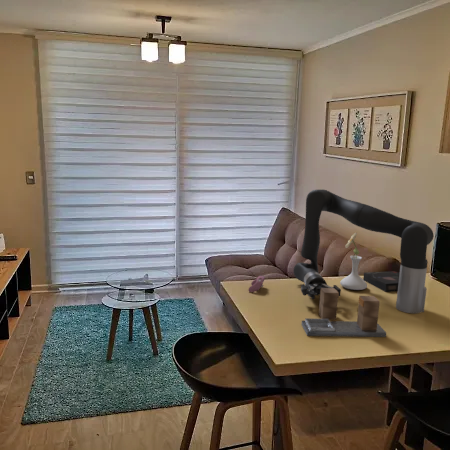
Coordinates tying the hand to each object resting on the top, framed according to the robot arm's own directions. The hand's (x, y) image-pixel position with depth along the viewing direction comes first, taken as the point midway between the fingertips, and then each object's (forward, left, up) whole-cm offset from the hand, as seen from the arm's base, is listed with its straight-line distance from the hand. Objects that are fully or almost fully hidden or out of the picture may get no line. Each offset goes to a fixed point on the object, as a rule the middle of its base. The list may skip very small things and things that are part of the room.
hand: (325, 296), depth 171 cm
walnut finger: (0, +4, -6) cm, 8 cm away
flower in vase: (-20, -29, -6) cm, 35 cm away
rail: (-2, +16, -6) cm, 18 cm away
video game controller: (+22, -25, -6) cm, 34 cm away
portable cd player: (-39, -35, -7) cm, 53 cm away
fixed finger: (-10, +16, -5) cm, 20 cm away
